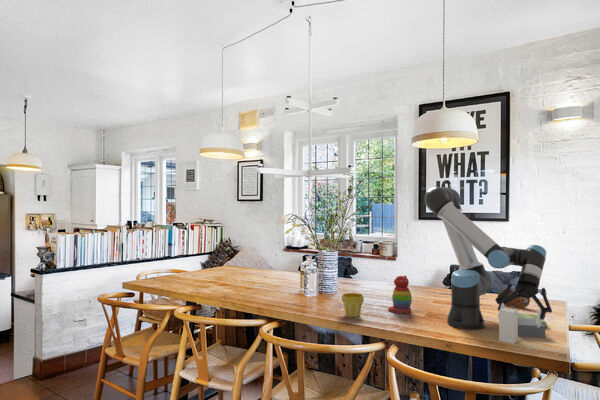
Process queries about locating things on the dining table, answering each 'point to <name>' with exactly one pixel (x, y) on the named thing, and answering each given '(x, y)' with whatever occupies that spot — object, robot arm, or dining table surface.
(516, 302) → the brown flat oval
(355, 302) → the plant pot
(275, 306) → the dining table surface
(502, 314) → the cream block
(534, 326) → the charcoal base block
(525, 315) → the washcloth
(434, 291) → the dining table surface
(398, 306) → the stacking bear
